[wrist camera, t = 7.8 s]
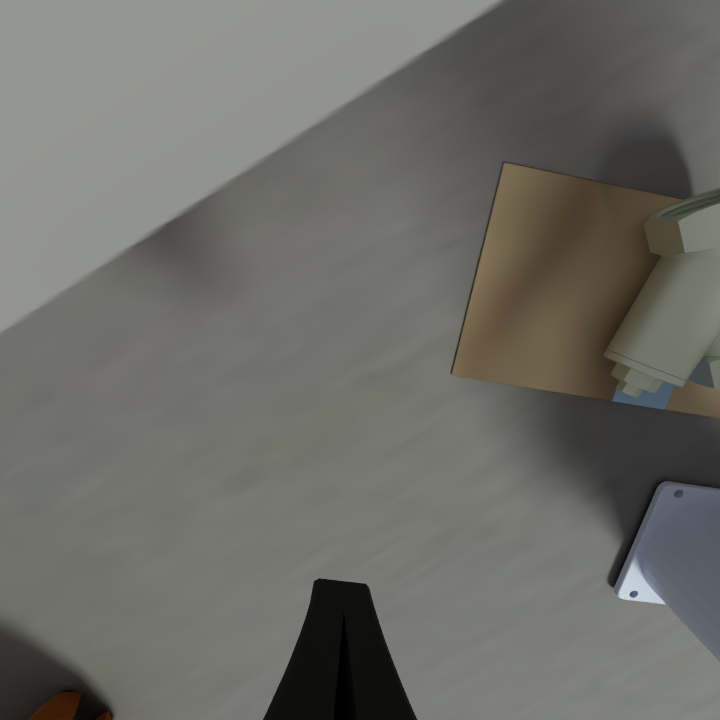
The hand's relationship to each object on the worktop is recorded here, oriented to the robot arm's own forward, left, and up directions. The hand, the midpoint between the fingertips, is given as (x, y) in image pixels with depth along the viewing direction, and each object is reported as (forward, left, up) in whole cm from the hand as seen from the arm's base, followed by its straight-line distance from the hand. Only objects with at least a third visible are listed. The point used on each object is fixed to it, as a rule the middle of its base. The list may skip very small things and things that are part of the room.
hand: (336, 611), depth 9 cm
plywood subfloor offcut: (-15, -9, -10) cm, 20 cm away
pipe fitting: (-14, -9, -10) cm, 20 cm away
